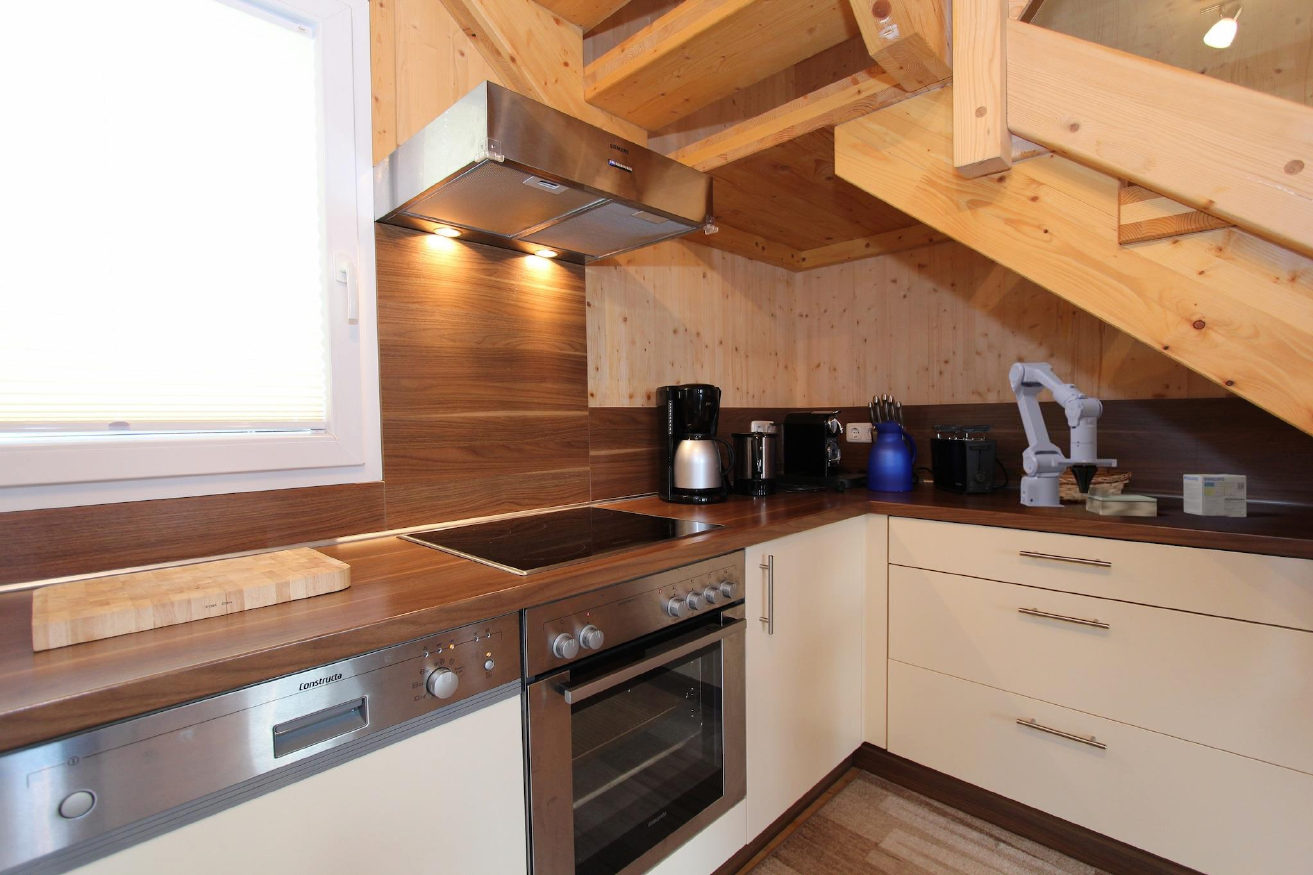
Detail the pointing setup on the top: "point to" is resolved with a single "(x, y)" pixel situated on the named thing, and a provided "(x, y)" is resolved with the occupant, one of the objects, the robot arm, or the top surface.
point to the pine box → (1121, 507)
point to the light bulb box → (1215, 494)
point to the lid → (1115, 496)
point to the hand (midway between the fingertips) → (1083, 493)
